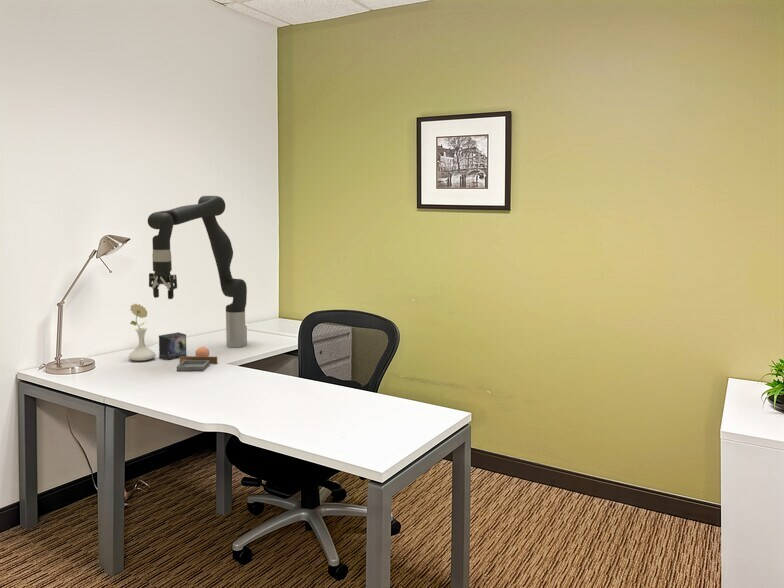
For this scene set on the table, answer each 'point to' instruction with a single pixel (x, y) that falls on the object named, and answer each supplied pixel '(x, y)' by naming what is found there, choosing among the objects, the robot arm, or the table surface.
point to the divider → (199, 358)
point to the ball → (202, 352)
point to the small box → (172, 346)
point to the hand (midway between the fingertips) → (163, 298)
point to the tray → (193, 365)
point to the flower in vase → (140, 336)
